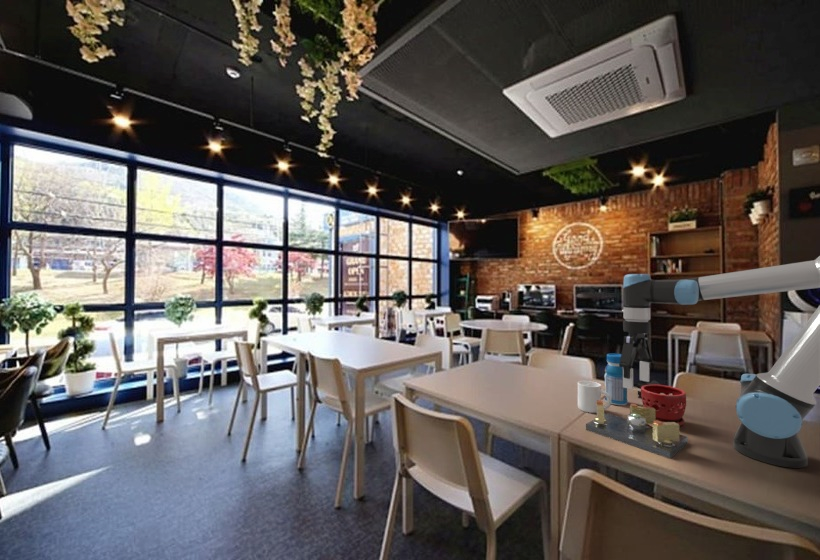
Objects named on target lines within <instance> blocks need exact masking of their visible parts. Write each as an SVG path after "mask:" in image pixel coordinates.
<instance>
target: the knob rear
mask: <svg viewBox="0 0 820 560" xmlns="http://www.w3.org/2000/svg"><path fill="white" fill-rule="evenodd" d="M632 413H638V414H640V415H641V416H644V417H645V418H646V426H648V424H649V425H653V421H655V409H654V408H651V407H644V406H640V405H637V404H636V403H630V404H629V414H632Z"/></svg>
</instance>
